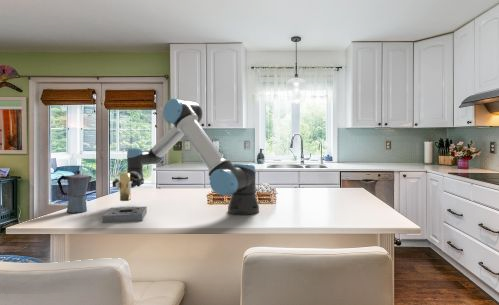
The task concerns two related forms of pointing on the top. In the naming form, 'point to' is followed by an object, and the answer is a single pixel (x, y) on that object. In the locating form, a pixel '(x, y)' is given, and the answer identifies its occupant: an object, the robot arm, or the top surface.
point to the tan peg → (124, 187)
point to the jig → (125, 214)
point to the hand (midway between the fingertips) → (122, 186)
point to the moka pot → (76, 191)
